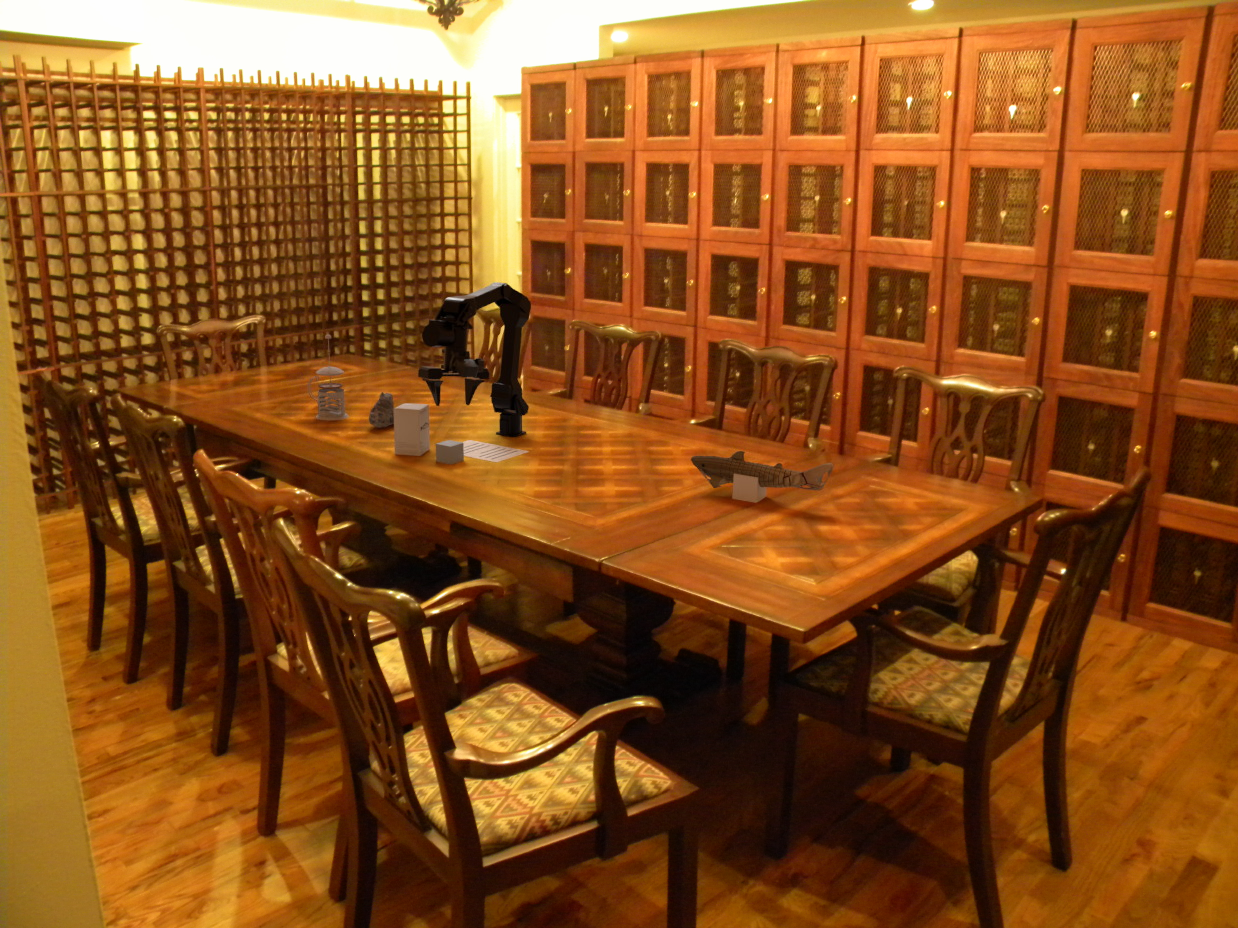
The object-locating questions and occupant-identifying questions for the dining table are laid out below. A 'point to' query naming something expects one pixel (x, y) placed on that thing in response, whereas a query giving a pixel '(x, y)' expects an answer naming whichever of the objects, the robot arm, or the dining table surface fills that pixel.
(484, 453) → the letter
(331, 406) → the french press
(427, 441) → the supplement box
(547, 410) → the dining table surface
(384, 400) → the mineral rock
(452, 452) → the cube
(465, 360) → the robot arm
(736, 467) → the wood carving
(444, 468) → the dining table surface
